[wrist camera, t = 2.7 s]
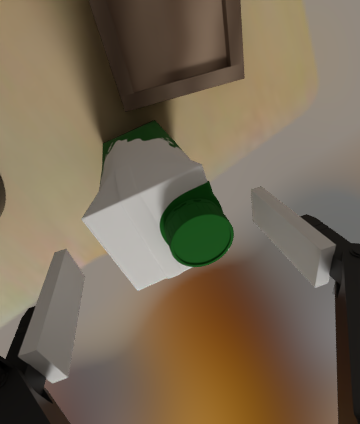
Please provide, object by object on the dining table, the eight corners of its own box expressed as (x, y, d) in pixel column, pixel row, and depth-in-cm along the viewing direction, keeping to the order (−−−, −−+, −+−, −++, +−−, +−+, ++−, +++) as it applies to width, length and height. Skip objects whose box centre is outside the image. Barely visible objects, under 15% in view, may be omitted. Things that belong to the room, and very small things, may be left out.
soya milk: (182, 170, 33) (251, 271, 16) (125, 197, 33) (134, 325, 16) (158, 109, 28) (221, 161, 11) (90, 139, 28) (53, 238, 11)
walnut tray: (124, 108, 27) (125, 111, 25) (66, -67, 19) (61, -83, 17) (234, 77, 28) (244, 78, 26) (221, -99, 20) (233, -119, 18)
